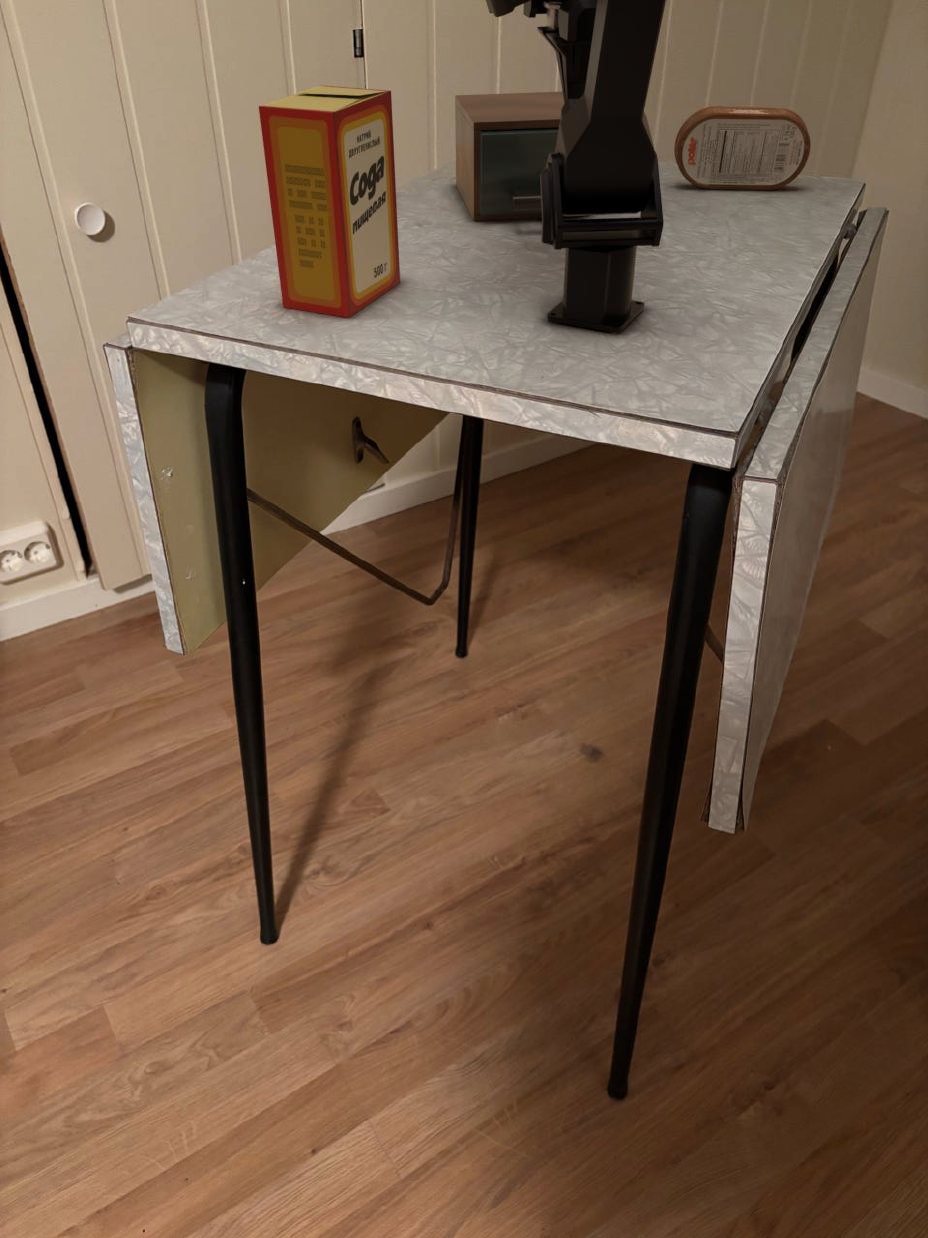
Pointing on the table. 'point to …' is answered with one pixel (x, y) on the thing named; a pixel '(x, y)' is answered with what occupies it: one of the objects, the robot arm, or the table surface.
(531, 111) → the cabinet
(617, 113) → the robot arm
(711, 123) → the tin
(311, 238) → the baking soda box
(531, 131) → the drawer
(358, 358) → the table surface
